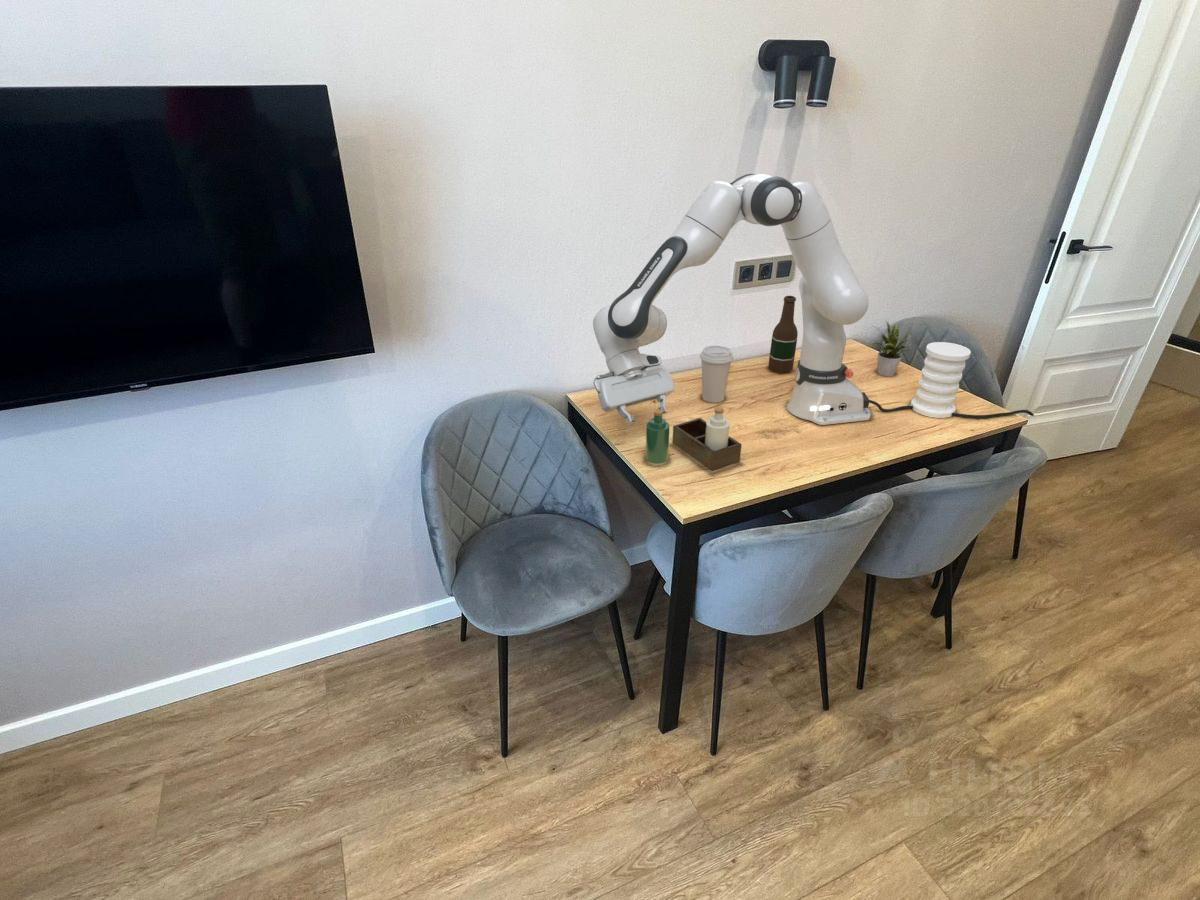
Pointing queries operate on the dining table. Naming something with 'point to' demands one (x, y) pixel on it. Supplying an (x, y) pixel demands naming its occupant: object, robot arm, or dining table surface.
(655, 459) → the green bottle
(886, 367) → the house plant
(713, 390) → the coffee cup
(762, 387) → the dining table surface
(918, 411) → the decorative container
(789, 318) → the beer bottle
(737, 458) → the caddy
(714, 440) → the cream bottle
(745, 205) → the robot arm
